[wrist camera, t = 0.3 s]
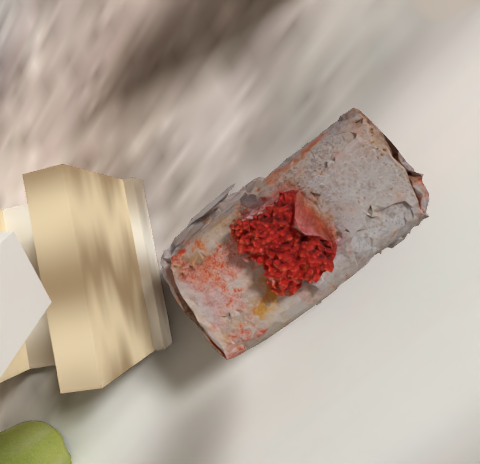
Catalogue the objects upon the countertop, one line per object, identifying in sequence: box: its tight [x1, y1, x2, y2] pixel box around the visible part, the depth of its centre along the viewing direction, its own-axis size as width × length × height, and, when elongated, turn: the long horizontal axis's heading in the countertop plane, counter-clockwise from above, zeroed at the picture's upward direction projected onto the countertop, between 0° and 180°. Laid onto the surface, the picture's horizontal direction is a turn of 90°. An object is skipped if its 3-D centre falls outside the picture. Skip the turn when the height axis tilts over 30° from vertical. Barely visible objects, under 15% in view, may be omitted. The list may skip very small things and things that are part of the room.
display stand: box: [0, 164, 172, 393], centre depth 26 cm, size 12×14×8 cm
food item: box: [160, 108, 429, 359], centre depth 22 cm, size 14×8×10 cm, turn 130°
